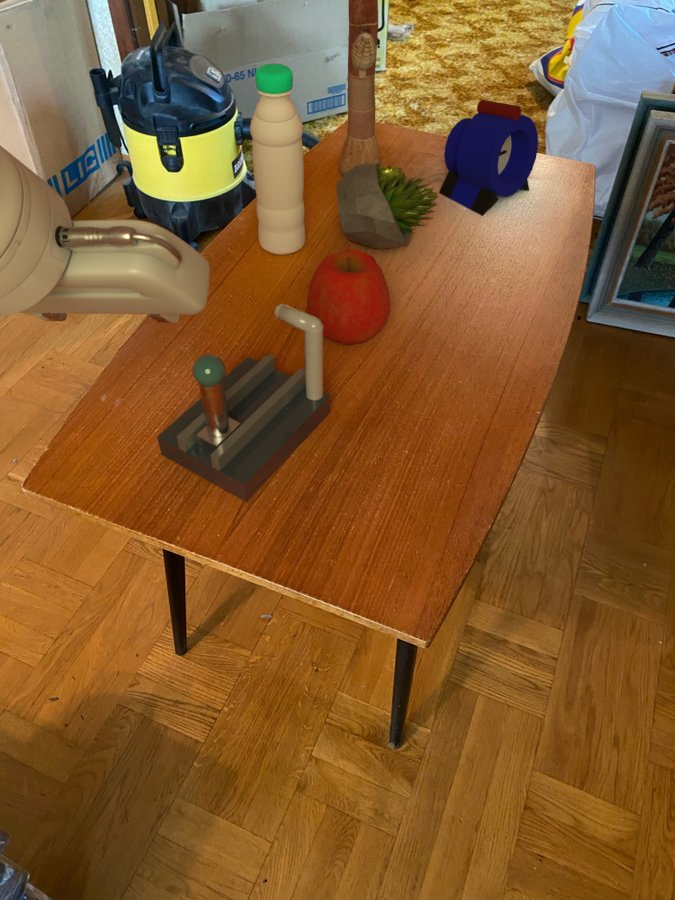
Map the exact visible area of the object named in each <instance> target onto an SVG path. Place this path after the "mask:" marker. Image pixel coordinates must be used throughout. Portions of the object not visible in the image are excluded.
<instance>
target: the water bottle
mask: <svg viewBox="0 0 675 900" xmlns="http://www.w3.org/2000/svg"><path fill="white" fill-rule="evenodd" d="M293 75H294V74H293V71H292V69H291V68H290V67H289V66H287V65H284V64H280V63H267V64H263V65H260V66H259V67H257V69H256V71H255V75H254V79H255V87H256V90H257V91H256V92H257V93H258V94H259V100H258V102H257V104H256V106H255V111H254V113H253V115H252V118H251V120H250V124H249V132H250V136H251V137H252V143H251V146H252V150H251V151H252V152H251V153H252V170H253V181H254V190H255V197H256V218H257V221H258V223H257V225H258V226H257V236H258V238H257V239H258V244H259V246H260V247H261V248H262V249H263V250H264V251H266V252H268V253H270V254H273V255H278V256H282V255H284V256H285V255H290V254H294V253H296V252H299V250H301V249H302V248H303V247H304V245H305V243H306V225H305V214H306V211H305V209H306V207H305V201H304V191H305V190H304V187H305V165H304V163H305V162H304V148H303V147H304V146H303V138H302V137H303V133H304V125H303V121H302V119H301V116H300V114H299V112H298V111H297V108H296V104H295V103H294V102H293V101H292V99H291V94H292V92H293V86H294V76H293Z"/></svg>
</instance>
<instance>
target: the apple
mask: <svg viewBox="0 0 675 900" xmlns="http://www.w3.org/2000/svg"><path fill="white" fill-rule="evenodd" d="M314 271H315V272H314V274H313V276H312V277H311V280H310V282H309V285H308V289H307V290H308V291H307V298H306V308H307V312H308V313H307V314H310V315H312V316H314V317H317V318H319V319H320V321H321V322H322V324H323V337H324V338H326V339H328V340H330V341H332V342H335V343H336V344H337V343H338V344H342V345H343V344H344V345H350V346H353V345H357V344H361V343H365V342H368V341H369V340H370V339H372V338H374V337H375V336H376V335H377V334H379V332H380V331H381V330H382V329H383V328H384V327H385V326H386V324H387V322H388V319H389V316H390V313H391V312H390V311H391V298H390V291H389V285H388V283H387V280H386V277H385V275H384V272H383V270H382V268H381V267H380V265H379V264H378V262H377V260H376V259H375V257H374V256H372V255H370V254H369V253H367V252H364V251H361V250H360V249H359V250H358V249H345V250H340V251H337V252H334V253H331V254H328V255H326V257H324V259H323V260H322V261H321V262H320V263H319V264H318V266H317V267H316V268H315V270H314Z"/></svg>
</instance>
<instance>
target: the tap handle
mask: <svg viewBox="0 0 675 900" xmlns="http://www.w3.org/2000/svg"><path fill="white" fill-rule="evenodd" d="M191 369H192V376H193V378H194V380H195V381H196V383H198V388H199V393H200V398H202V404H203V410H204V415H205V421H206V426H205V427H204V428H203V429H202V430H201V431H200V432H199V433H198V434H197V435H196V437H197V442H198V445H200V446H202V447H203V448H205V449H207V450H209V451H211V452H214V451H215V450H216V449H217V448H218V447H219V446H220V445H221V444H222V443H223V442H224V441H225V440H226V439H227V438H228V437H229V436H230V435H231V434H232V433H233V432H234V431H235V430H236V429H237V428H238V427H239V426H241V423H239V422H237V421H235V420H233V419H231V418H229V417H228V411H227V404H226V397H225V390H224V384H223V379H224V377H225V376H226V374H227V373H226V372H227V371H226V370H227V369H226V365H225V363H224V361H223V360H222V359H221V358H220V357H219V356H217V355H216V354H212V353H206V354H202V355H200V356H198V357H197V358H196V360H195V361H194V362H193V365H192V368H191Z"/></svg>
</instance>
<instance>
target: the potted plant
mask: <svg viewBox="0 0 675 900" xmlns="http://www.w3.org/2000/svg"><path fill="white" fill-rule="evenodd" d="M407 177H408V175H406V173H405V172H404V171H403V169H402V168H401V167H400V166H399V167H397V166H394V165H392V164H389V165H387V166H385V165H381V166H379V163H377V164H368V163H364V164H361V165H357V166H355V167H354V168H352V169H351V170H350V171H349V172H347V173H346V174H345V175H344V176H343V177H342V176H341V179H339V181H338V182H337V183H336V198H337V213H338V218H339V222H340V226H341V230H342V233H343V235H344V237H345V238H346V240H348V241H351V242H353V243H357V244H360V245H363V246H365V247H369V248H371V249H379V250H380V249H382V250H383V249H388V248H389V249H390V248H391V249H392V248H399V247H406V246H409V244H410V240H411V237H412V234H415V231H416V228H414V227H426V226H427V225H425V224H424V222H423V221H426V220H432V219H434V217H430V216H425V215H429V214H431V213H436V212H437V211H436V210H432V208H434V207H437V206H438V205H439V204H438V203H437V202H436V201H435V200H437V199H438V198H439V197H438V196H439V195H438V193H437V192H436V191H434V190H435V189H436V188H431V187H430V186H431V185H432V183H425V184H421V183H422V182H423V181H425V180H426V178H424V177H421V176H420V177H418V176H417V175H416V176H414V177H413V176H411V177H410V178H408V179H407ZM417 177H418V178H417ZM416 178H417V179H416ZM406 179H407V180H406ZM419 184H421V185H419Z"/></svg>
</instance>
